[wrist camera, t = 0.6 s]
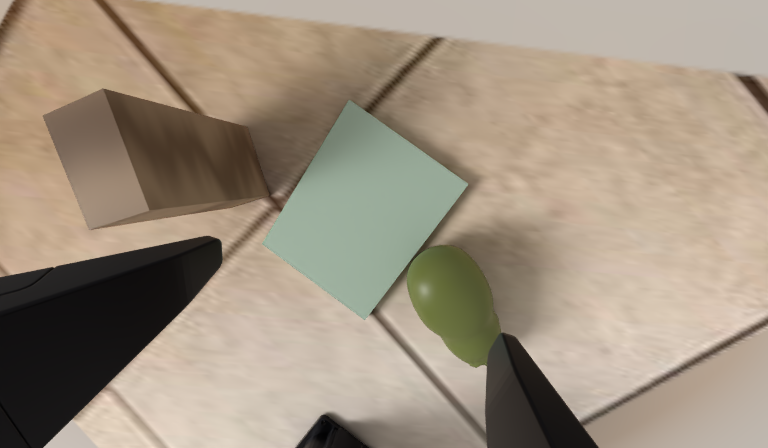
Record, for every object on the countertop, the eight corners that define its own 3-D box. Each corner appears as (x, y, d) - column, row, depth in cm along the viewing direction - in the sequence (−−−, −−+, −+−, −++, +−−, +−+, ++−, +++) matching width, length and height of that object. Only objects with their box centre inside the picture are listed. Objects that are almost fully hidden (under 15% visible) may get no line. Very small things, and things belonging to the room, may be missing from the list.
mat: (366, 315, 25) (364, 320, 25) (267, 241, 26) (261, 243, 25) (467, 184, 22) (468, 184, 22) (352, 102, 23) (349, 99, 22)
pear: (471, 250, 18) (533, 370, 20) (457, 223, 23) (507, 321, 25) (391, 287, 19) (457, 396, 21) (394, 254, 24) (447, 345, 26)
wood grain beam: (269, 195, 25) (149, 210, 14) (230, 207, 26) (89, 229, 15) (247, 126, 24) (103, 88, 14) (207, 141, 25) (42, 115, 15)
